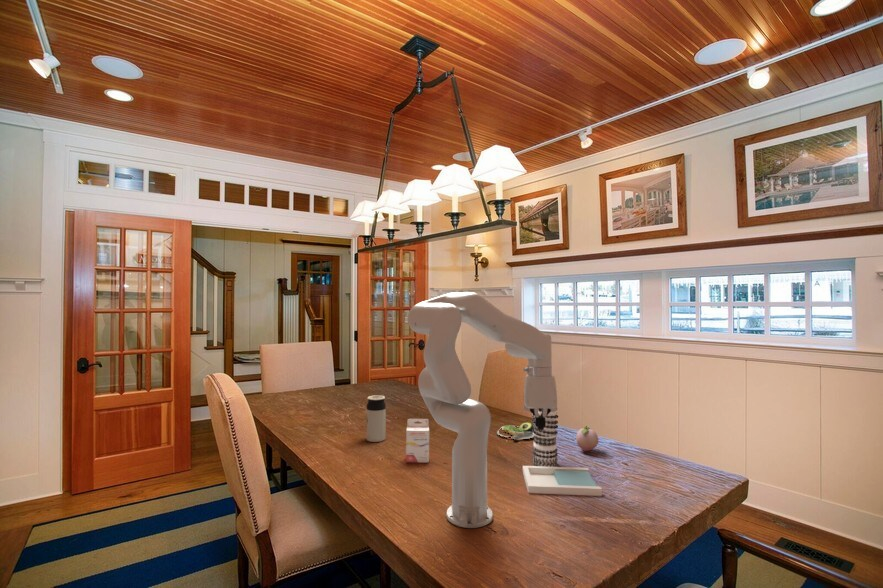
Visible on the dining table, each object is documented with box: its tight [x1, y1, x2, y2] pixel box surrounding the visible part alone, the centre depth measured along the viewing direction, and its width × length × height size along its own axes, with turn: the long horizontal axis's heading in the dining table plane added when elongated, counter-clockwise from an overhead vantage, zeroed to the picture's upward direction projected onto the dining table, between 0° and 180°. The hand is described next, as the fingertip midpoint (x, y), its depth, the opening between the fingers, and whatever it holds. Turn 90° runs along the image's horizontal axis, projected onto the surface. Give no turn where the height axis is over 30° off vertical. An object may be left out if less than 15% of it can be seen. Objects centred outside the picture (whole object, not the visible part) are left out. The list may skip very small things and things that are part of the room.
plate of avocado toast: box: [496, 421, 535, 441], centre depth 187 cm, size 19×18×5 cm
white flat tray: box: [522, 465, 603, 497], centre depth 135 cm, size 16×22×3 cm
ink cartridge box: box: [405, 418, 430, 463], centre depth 157 cm, size 9×5×15 cm, turn 92°
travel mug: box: [366, 394, 387, 443], centre depth 181 cm, size 8×8×18 cm
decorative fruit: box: [575, 425, 599, 452], centre depth 167 cm, size 9×8×10 cm
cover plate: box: [554, 470, 599, 487], centre depth 135 cm, size 12×11×2 cm
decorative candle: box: [531, 409, 559, 467], centre depth 150 cm, size 9×9×25 cm
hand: (540, 428), depth 136 cm, fingers closed
